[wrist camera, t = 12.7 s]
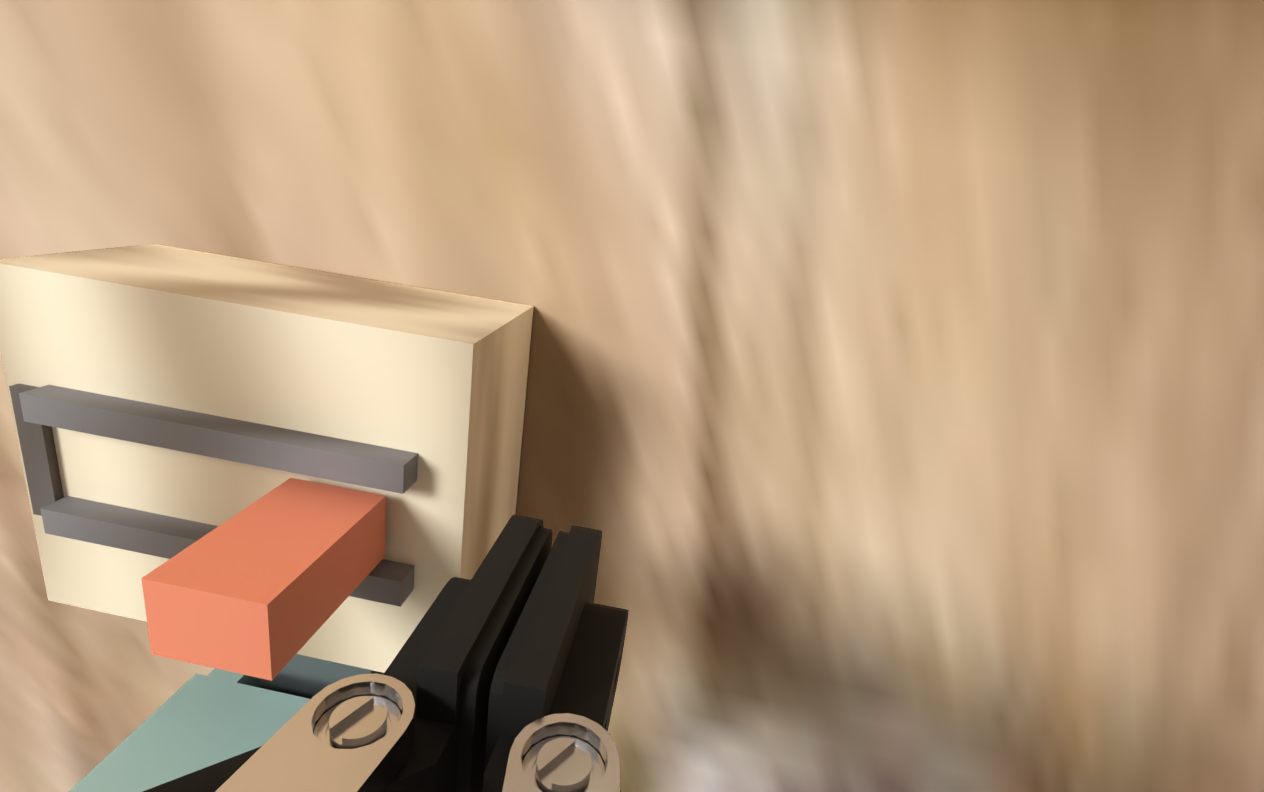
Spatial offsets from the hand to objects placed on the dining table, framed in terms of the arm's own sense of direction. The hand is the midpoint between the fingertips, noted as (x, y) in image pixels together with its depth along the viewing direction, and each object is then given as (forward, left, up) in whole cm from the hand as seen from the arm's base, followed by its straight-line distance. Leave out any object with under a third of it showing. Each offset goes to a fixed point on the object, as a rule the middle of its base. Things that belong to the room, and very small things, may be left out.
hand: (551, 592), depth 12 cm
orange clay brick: (+5, 0, -1) cm, 5 cm away
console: (+7, 0, -5) cm, 9 cm away
